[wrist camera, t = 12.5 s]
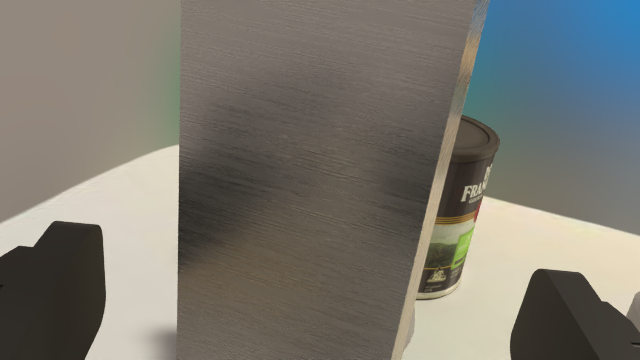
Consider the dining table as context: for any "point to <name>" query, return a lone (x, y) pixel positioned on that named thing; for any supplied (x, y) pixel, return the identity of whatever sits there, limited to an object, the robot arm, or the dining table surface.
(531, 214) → the dining table surface
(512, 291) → the dining table surface
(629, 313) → the bottle
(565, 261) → the dining table surface
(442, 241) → the coffee can
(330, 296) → the post
